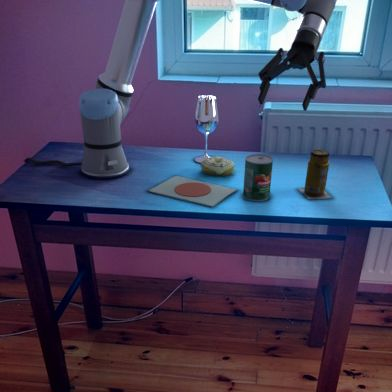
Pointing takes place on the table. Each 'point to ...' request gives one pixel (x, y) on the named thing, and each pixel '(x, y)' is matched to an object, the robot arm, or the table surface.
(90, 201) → the table surface
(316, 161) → the condiment
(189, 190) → the placemat
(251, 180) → the canned tomato
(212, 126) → the wineglass
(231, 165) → the decorated donut
